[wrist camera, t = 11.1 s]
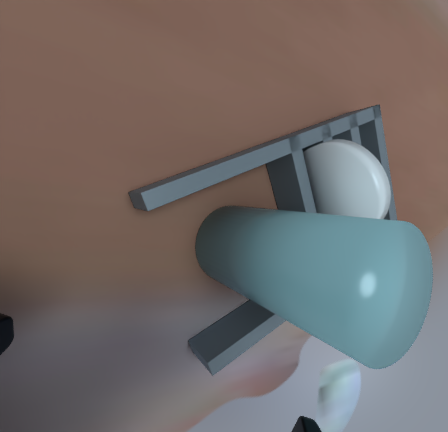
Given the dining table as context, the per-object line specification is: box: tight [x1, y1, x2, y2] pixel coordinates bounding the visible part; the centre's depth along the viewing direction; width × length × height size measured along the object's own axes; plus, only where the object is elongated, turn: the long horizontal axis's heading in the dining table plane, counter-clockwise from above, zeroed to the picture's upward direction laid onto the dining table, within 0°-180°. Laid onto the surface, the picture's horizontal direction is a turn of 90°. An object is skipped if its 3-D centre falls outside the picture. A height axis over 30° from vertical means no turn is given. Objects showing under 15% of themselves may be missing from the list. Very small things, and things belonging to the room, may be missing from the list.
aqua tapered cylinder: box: [195, 206, 433, 369], centre depth 16 cm, size 6×6×12 cm
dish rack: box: [128, 104, 397, 376], centre depth 22 cm, size 21×12×3 cm, turn 110°
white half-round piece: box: [303, 139, 391, 219], centre depth 20 cm, size 1×7×7 cm, turn 20°
